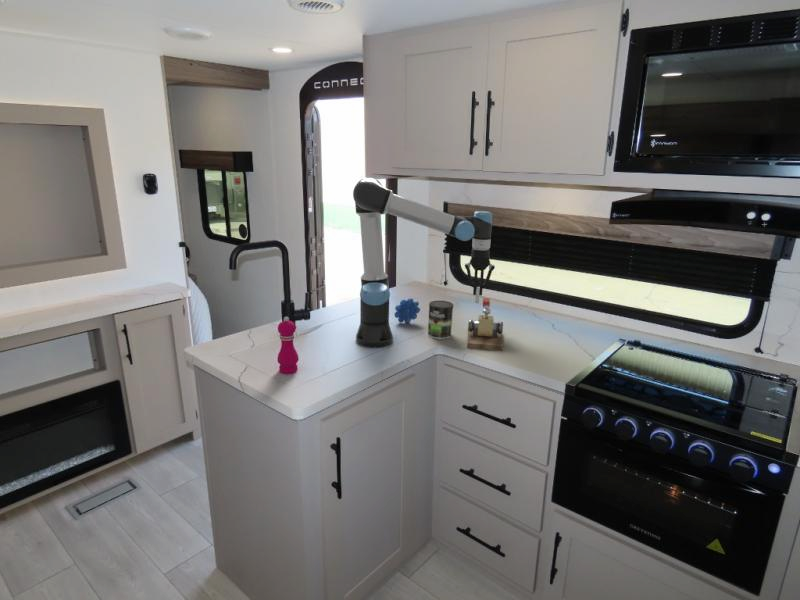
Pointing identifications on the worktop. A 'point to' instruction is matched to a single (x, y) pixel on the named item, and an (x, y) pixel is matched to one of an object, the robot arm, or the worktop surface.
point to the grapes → (407, 310)
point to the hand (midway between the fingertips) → (476, 302)
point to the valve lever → (486, 305)
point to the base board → (484, 342)
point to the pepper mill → (287, 347)
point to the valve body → (485, 326)
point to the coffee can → (440, 319)
